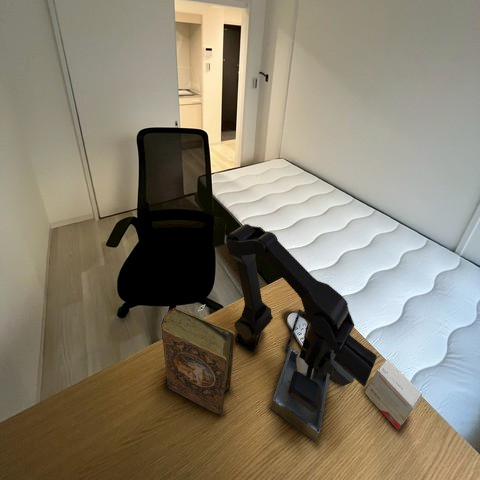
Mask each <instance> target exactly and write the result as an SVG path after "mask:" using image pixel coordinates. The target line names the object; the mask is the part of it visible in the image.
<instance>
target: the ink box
mask: <svg viewBox="0 0 480 480" xmlns="http://www.w3.org/2000/svg"><path fill="white" fill-rule="evenodd" d="M365 395H366V396H367V397H368V399H370V401H371V402H372V403H373V404H374V405H375V406H376V408H377V409H378V410H379V411H380V412H381V413H382V415H384V417H385V418H387V420H388V421H389V422H390V423H391V425H392V426H393V427H394V428H395V429H396V430H398V431H399V430H400V428H401V427H402V425H403V424H404V423H405V422H406V420H407V418H408V417H409V416H410V414H411V413H412V412H413V410H414V409H415V407H416V406H417V404H418V403H419V401H420V399H421V398H422V396H423V393H422V392H421V391H420V390H419V388H417V387H416V386H415V385H414V383H412V382H411V381H410V379H409V378H407V377H406V376H405V374H403V373H402V371H400V369H399V368H398V367H397V366H395V365H394V363H392V362H391V361H390V359H388V358H387V359H385V361H383V362H382V363H381V364H380V366H379V367H378V368H377V369H376V371H375V373H374V375H373V377H372V378H371V381H370V382H369V385H368V387H367V388H366V390H365Z"/></svg>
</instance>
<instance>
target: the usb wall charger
mask: <svg viewBox="0 0 480 480" xmlns="http://www.w3.org/2000/svg"><path fill="white" fill-rule="evenodd" d="M299 355H300V352H299V353H298V355H297V358H296V363H297V371H299V372H300V373H302V374H303V375H305V376H306V372H307V368H308V365H307V364H306V363H305V361H304V360H303V359H301V358H300V357H299ZM313 370H314V369H313ZM313 370H312V374H311V379H312V375H313Z"/></svg>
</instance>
